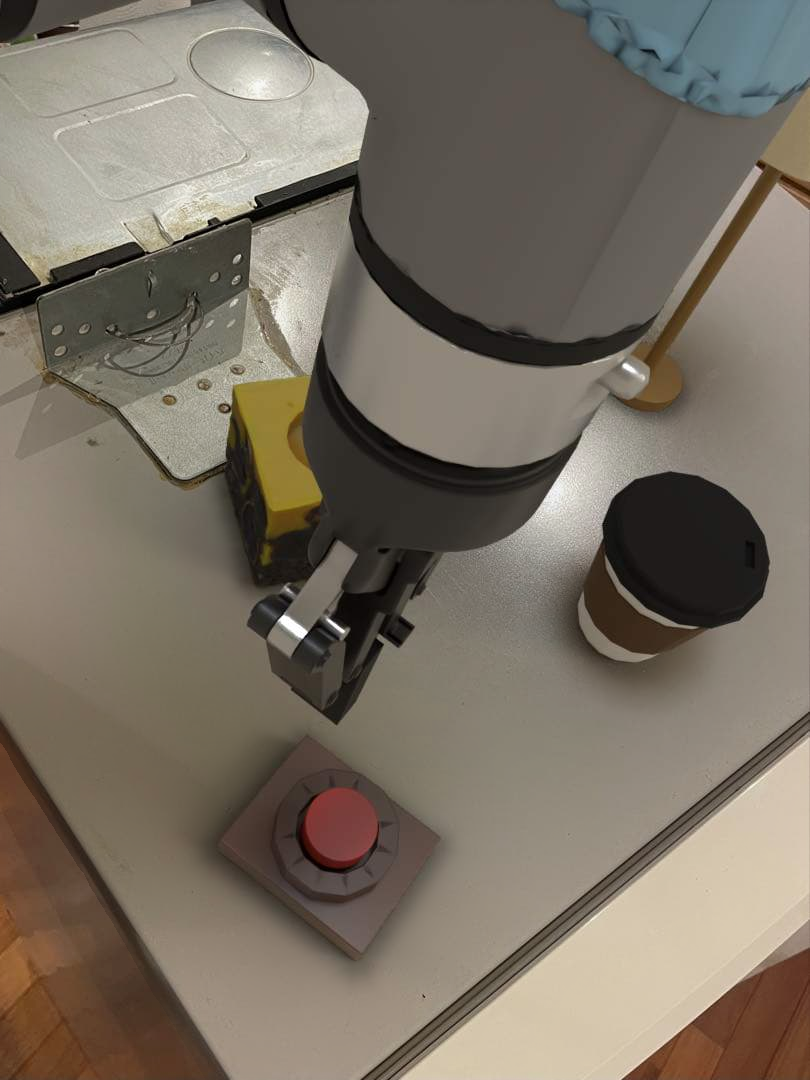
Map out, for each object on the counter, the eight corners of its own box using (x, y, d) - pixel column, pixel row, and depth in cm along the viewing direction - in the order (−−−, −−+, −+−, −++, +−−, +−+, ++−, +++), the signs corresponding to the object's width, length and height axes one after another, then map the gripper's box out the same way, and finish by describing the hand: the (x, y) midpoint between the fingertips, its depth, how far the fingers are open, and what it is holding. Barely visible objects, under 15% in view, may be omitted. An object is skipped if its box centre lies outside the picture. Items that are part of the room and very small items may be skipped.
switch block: (216, 849, 57) (221, 831, 53) (302, 745, 61) (310, 722, 58) (355, 961, 55) (368, 949, 52) (432, 846, 60) (449, 829, 56)
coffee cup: (693, 582, 74) (778, 494, 64) (685, 714, 68) (777, 639, 58) (556, 539, 73) (620, 443, 63) (535, 668, 67) (602, 585, 57)
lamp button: (286, 838, 54) (290, 829, 53) (330, 782, 57) (334, 772, 55) (344, 884, 54) (349, 876, 52) (385, 826, 56) (392, 817, 55)
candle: (355, 449, 74) (381, 360, 65) (397, 565, 69) (430, 485, 61) (220, 468, 70) (229, 377, 62) (254, 591, 66) (269, 511, 57)
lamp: (555, 380, 82) (750, 10, 55) (614, 312, 88) (816, -53, 61) (667, 455, 80) (924, 111, 54) (719, 381, 86) (975, 37, 59)
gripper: (441, 616, 22) (300, 860, 42) (680, 315, 29) (462, 646, 49) (183, 425, 23) (164, 751, 43) (474, 179, 30) (342, 557, 50)
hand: (323, 695), depth 46 cm, fingers closed
